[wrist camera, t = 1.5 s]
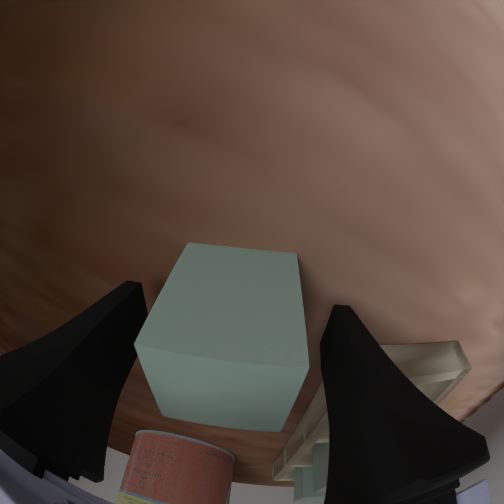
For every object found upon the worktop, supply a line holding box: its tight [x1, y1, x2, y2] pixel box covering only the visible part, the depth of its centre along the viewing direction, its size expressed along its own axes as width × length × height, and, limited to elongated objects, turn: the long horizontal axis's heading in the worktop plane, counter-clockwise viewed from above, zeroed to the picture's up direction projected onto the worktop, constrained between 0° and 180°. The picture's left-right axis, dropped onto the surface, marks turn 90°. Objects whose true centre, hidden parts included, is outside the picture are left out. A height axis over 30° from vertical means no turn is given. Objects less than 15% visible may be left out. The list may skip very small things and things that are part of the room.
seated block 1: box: [294, 467, 326, 502], centre depth 19 cm, size 4×4×5 cm
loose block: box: [134, 243, 309, 432], centre depth 9 cm, size 4×4×5 cm
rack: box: [272, 341, 472, 481], centre depth 17 cm, size 8×23×2 cm, turn 175°
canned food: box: [116, 430, 235, 504], centre depth 18 cm, size 11×11×12 cm
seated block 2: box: [312, 442, 329, 493], centre depth 15 cm, size 4×4×5 cm
